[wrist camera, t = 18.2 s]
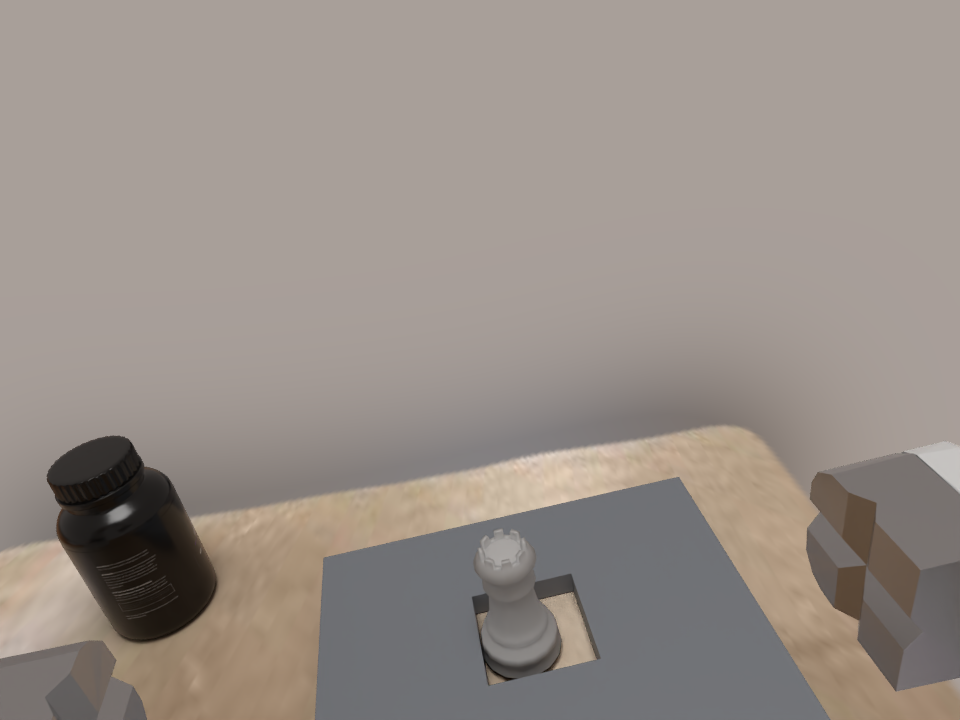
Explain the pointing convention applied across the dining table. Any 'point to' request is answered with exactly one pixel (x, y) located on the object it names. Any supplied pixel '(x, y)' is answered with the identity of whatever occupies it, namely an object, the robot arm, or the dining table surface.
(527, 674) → the rook chess piece
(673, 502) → the socket board
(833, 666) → the dining table surface
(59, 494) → the supplement bottle
